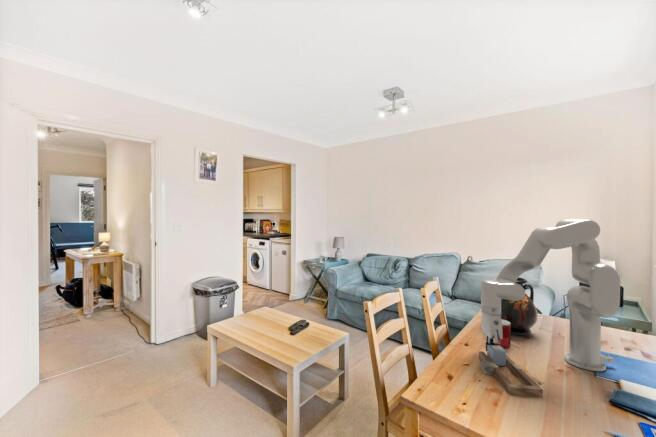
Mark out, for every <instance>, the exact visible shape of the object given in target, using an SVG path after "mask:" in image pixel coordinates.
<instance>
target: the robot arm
mask: <svg viewBox="0 0 656 437" xmlns="http://www.w3.org/2000/svg"><path fill="white" fill-rule="evenodd" d="M600 234H601V227H600V224H599V223H598V222H597V221H595V220H593V219H589V218H565V219H562V220H561V219H560V220H559V221H558V222H556V225H555V227H548V226H547V227H545V226H543V227H542V226H541V227H536V228H534V229H533V231H532V232H531V233H530V235H529V236H528V238H527V239H526V241H525V243H524V245H523V246H522V248H521V249H520V251H519V252H518V254H517V256H515V257H514V258H513V259H511V260H510V262H508V263H507V264H505V266H504V267H503V268H502V269H501V271H499V274H498V275H497V277H496V279H495V280H494V279H493V280H492V279H483V280H482V281H481V284H480V287H481V288H480V312H481V323H480V324H481V331H482V332H483V333H484V335H485V336H484V337H485V351H486V352H487V345H496V343H498V338H499V339H501V340H502V338H503V334H502V321H501V316H500V315H501V299H506V300H512V301H518V300H521V299H522V298H523V297H524V296H525V293H526V292H525V291H526V290H525V289H524V288H523V287H522V286H521V285H519V284H517V283H515V282H516V280H517V279H518V277H519V278H520V276H522V275H524V274H525V273H527V272H529V271H532V270H535V269H537V268H539V267H540V266H541V265H542V263H543V261H544V260H545V258H546V256H547V255H548V253H549V251H550V250H561V249H566V248H571V276H572V278H573V279H574V280H575V281H577V282H578V283H581V284H584V285H587V286H584V285H575V286H573V287H571V288H570V289H569V290H568V291H567V294H566V301H567V306H568V312H569V341H568V342H569V343H568V344H569V345H568V346H569V347H568V348H569V349H568V352H569V353H565V354H564V360H565V361H566V362H567V363H568V364H570V365H572V366H575V367H577V368H581V369H583V370H586V371H593V372H604V371H606V369H607V366H606V364H605V363H615V359H614V357H612V356H605V355H604V354H602V353H601V352H602V349H601V348H602V346H601V345H602V343H601V341H602V340H601V339H602V335H601V334H602V333H601V332H602V323H601V318H602V319H610V318H612V317H615V315H617V313H618V312H619V310H620V305H621V277H620V274H619V273H618V271H617V270H616V268H614V267H613V266H611V265H608V264H606V263H601V253H600V252H601V251H600V246H599V243H598V241H597V240H596V238H597V237H599V235H600Z"/></svg>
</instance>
